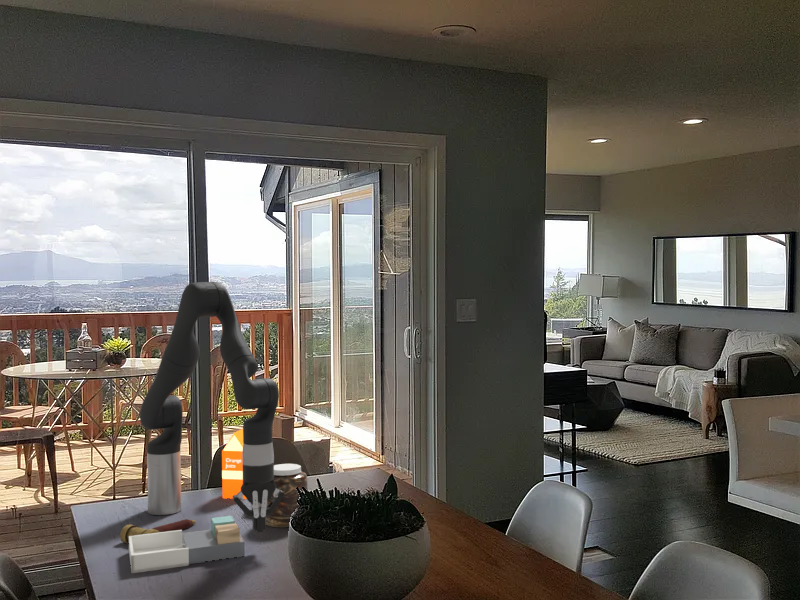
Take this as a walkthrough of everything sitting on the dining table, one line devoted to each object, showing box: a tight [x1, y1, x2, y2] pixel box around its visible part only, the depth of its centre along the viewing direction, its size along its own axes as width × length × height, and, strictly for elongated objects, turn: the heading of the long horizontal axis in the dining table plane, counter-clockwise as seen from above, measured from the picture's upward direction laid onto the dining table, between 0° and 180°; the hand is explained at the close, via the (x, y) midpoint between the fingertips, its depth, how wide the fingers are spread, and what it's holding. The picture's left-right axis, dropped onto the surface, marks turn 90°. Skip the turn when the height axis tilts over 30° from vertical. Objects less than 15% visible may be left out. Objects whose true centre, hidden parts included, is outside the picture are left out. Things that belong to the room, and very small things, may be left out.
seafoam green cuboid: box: [210, 515, 236, 536], centre depth 191 cm, size 5×5×3 cm
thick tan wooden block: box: [215, 522, 241, 544], centre depth 184 cm, size 5×5×3 cm
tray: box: [128, 530, 190, 574], centre depth 182 cm, size 15×12×4 cm
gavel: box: [119, 518, 197, 544], centre depth 200 cm, size 21×5×10 cm
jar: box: [265, 463, 309, 528], centre depth 210 cm, size 12×12×15 cm
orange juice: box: [221, 428, 247, 500], centre depth 238 cm, size 8×9×20 cm
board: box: [182, 529, 246, 565], centre depth 186 cm, size 13×13×4 cm
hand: (259, 531), depth 187 cm, fingers closed
